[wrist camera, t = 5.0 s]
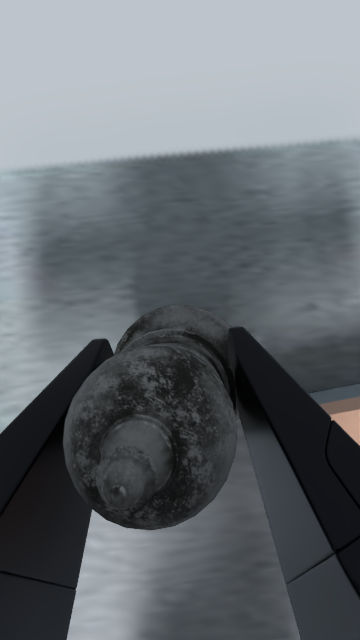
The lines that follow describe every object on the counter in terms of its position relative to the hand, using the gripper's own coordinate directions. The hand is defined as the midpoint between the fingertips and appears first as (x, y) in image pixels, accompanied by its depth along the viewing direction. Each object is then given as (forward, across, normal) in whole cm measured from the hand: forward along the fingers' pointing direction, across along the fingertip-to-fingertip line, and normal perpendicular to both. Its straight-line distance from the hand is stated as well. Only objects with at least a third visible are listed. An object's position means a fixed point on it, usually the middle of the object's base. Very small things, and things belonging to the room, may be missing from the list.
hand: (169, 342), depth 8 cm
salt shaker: (+4, 0, +6) cm, 7 cm away
